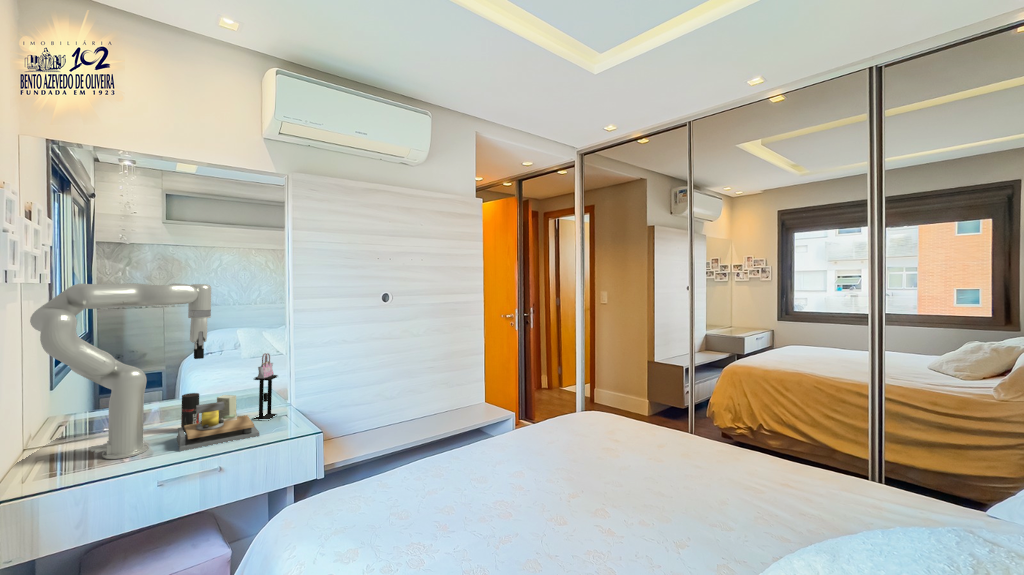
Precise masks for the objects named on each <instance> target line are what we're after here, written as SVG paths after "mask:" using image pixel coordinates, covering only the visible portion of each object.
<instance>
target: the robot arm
mask: <svg viewBox="0 0 1024 575" xmlns="http://www.w3.org/2000/svg"><path fill="white" fill-rule="evenodd" d="M168 305H169V306H171V305H174V306H175V305H188V306H187V307H188V308H187V309H188V310H187V313H188V314H187V317H188V319H190V326H189V332H190V333H189V341H190V342H191V343H192V344H193V345H194V348H193V359H194V360H200V359H201V360H203V359H204V358H205V346H204V345H205V342H207V340H208V319H209V318H211V317H212V312H211V311H212V287H211V285H209V284H207V283H206V284H205V283H202V284H201V283H192V284H187V283H175V282H174V283H169V284H149V283H148V284H147V283H134V282H133V283H131V282H130V283H129V282H128V283H75V284H74V285H71V286H69V287H68V288H66V289H65V290H63V291H62V292H61V293H58V294H57V295H56V296H55V297H53V298H52V299H51V300H48V301H47V302H46V303H44V304H43V305H41V306H40V307H39V308H37V309H36V310H35V311H34V312H33V313H32V314H31V316H30V320H29V324H30V325H31V327H32V328H33V329H35V330H36V331H37V332H40V336H39V340H40V345H41V347H42V349H43V350H44V352H46V354H47V355H49V356H50V357H52V358H54V359H55V360H57V361H60V362H61V363H63V365H66V366H68V367H69V369H70V370H71V371H72V372H73V373H75V374H77V375H79V376H81V377H83V378H84V379H85V378H86V379H87V380H89V381H91V382H94V384H97V385H100V386H101V387H104V388H107V389H109V390H111V393H110V398H109V402H108V434H107V435H108V437H107V439H108V440H106V441H107V442H106V443H103V444H100V445H94V446H90V453H93V452H94V453H95V454H98V453H101V452H102V453H101V455H102V456H101V457H102V458H103V459H107V460H118V459H120V460H121V459H125V458H130V457H135V456H137V455H140V454H143V453H144V452H146V451H147V450H148V449H149V444H148V443H147V442H144V418H145V417H144V410H145V408H144V404H145V403H144V402H145V392H146V386H147V374H146V373H145V371H143V369H141V368H139V367H137V366H133V365H129V364H125V363H123V362H122V361H119V360H117V359H116V358H115V357H114V356H113V355H112V354H111V353H109V352H107V351H105V350H103V349H100V348H98V347H97V346H95V345H92V344H91V343H89V342H87V341H86V340H84V339H82V338H81V337H80V336H78V334H77V325H78V321H77V320H78V319H77V317H76V316H77V315H79V314H80V313H81V312H83V311H84V310H85V309H86V310H87V309H88V310H89V309H90V310H95V309H96V310H97V309H111V308H113V309H114V308H115V309H116V308H130V307H131V308H133V307H149V306H168Z"/></svg>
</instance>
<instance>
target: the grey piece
mask: <svg viewBox="0 0 1024 575" xmlns="http://www.w3.org/2000/svg"><path fill="white" fill-rule="evenodd" d="M256 436H257V437H260V431H259V430H258V429H257V427H256V426H255V425H254V427H252V428H247V429H241V430H236V431H231V432H225V433H220V434H214V435H209V436H204V437H198V438H193V439H188V438H187V435H186V433H184V431H183V428H182V427H177V436H176V442H177V446H178V449H179V452H184V450H185V451H188V450H189V449H190V450H195V449H199V448H198V447H200V448H203V447H202V446H205V447H209V446H208V445H211V446H214V445H213V444H216V445H219V444H218V443H221V444H224V443H223V442H226V443H229V442H228V441H231V442H234V441H233V440H236V441H240V439H242V440H246V439H245V438H247V439H250V437H252V438H257V437H256ZM194 448H195V449H194Z"/></svg>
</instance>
